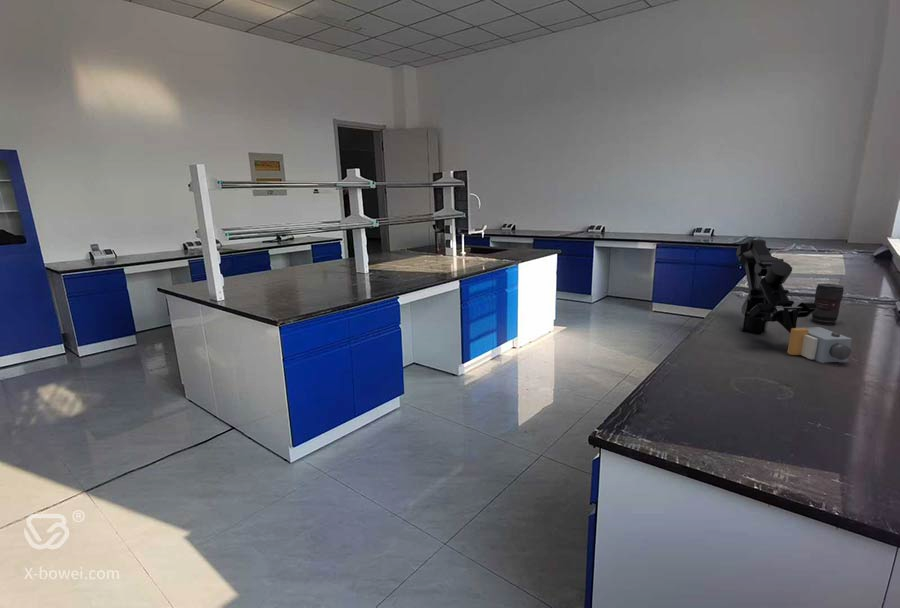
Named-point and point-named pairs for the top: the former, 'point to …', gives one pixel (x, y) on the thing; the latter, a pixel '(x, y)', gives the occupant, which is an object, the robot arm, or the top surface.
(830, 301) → the camera lens
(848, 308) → the top surface
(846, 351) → the grey knobbed box
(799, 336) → the side door
